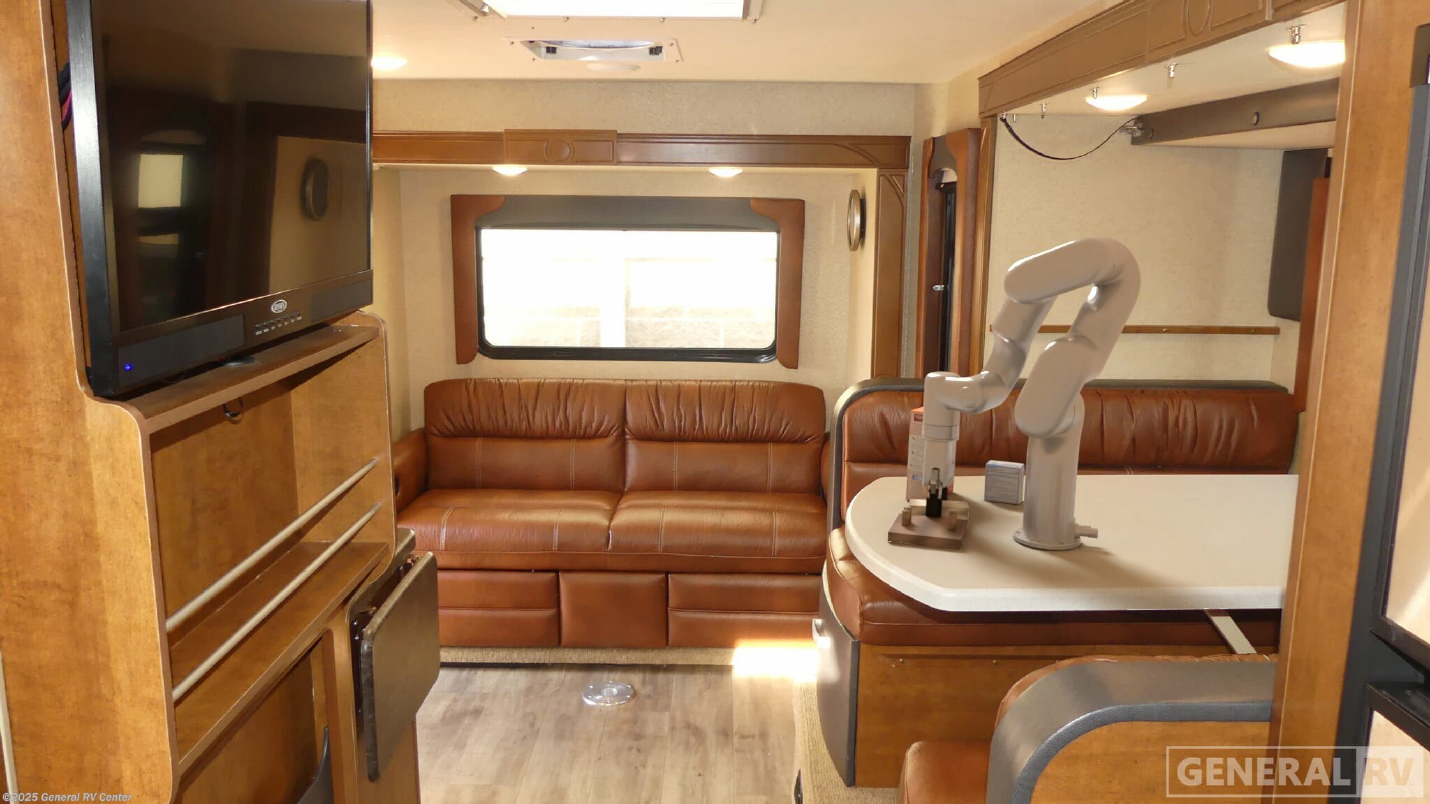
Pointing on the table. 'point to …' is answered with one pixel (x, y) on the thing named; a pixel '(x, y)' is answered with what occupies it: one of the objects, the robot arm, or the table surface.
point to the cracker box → (920, 459)
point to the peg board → (928, 530)
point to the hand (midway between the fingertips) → (936, 510)
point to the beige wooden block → (947, 506)
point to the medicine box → (1004, 482)
